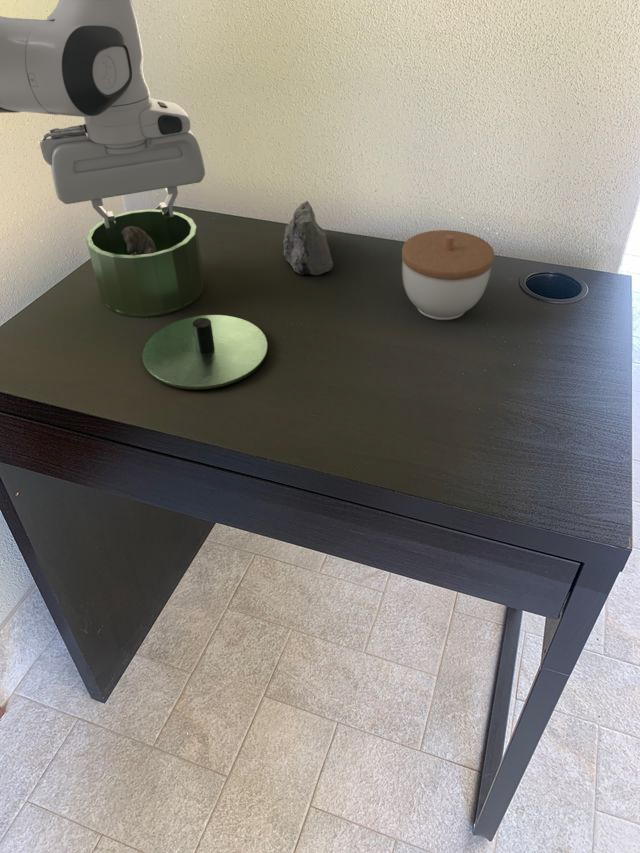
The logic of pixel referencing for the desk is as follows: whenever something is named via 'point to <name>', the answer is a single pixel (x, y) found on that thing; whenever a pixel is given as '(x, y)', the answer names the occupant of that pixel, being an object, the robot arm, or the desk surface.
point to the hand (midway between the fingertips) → (139, 221)
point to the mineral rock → (306, 243)
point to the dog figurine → (138, 241)
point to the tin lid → (205, 352)
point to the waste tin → (147, 264)
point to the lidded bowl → (445, 272)
